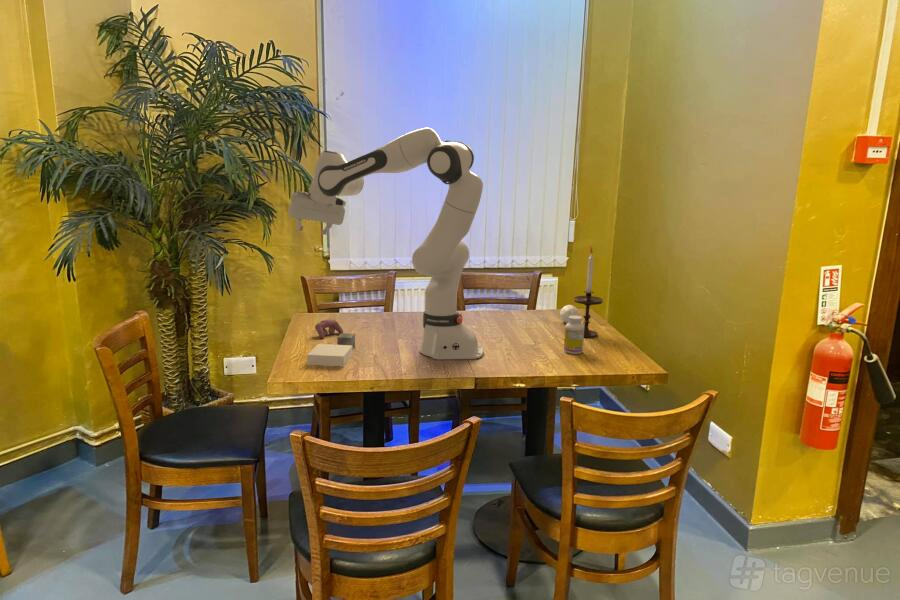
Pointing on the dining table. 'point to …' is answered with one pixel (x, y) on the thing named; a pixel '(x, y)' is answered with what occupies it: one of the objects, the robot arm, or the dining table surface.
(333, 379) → the dining table surface
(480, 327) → the dining table surface
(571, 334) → the supplement bottle
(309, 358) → the cream block
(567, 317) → the geometric ball
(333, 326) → the video game controller
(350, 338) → the slate cube
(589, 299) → the candlestick
